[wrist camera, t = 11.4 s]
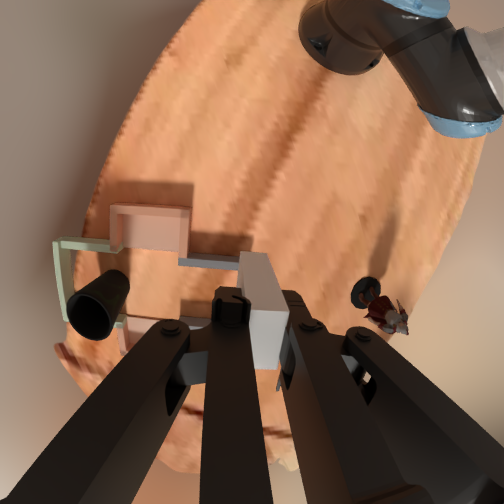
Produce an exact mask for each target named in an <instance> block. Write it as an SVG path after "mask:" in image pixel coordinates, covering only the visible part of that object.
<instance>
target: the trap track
mask: <svg viewBox="0 0 504 504" xmlns="http://www.w3.org/2000/svg"><path fill="white" fill-rule="evenodd" d="M191 214H192V207H183V206H169V205H154V204H137V203H114V204H111V205H110V240H107V239H95V238H83V237H71V236H63V237H61V238H59V239H57V240H55V241H53V253H54V264H55V272H56V279H57V287H58V293H59V298H60V304H61V310H62V315H63V319H64V321H66V322H69V319H68V317H67V313H66V305H67V302H68V300H69V298H70V297H71V296H72V295H74V294H75V291H74V284H73V276H72V266H71V255H70V249H76V250H86V251H96V252H106V253H116V254H117V253H118V252H119V251H121V250H122V249H123V247H125V248H137V249H148V250H159V251H171V252H179V257H178V266H189V267H201V268H213V269H225V270H238V268H239V259H240V257H237V256H225V255H213V254H201V253H189V244H190V228H191ZM179 320H180V321H182V322H185V323H186V324H187V325H188V326H189V328H190V330H193V329H200V328H203V327H205V326H207V325H209V324H210V322H211V319H208V318H196V317H185V316H180V318H179ZM157 321H161V320H157V319H148V318H140V317H133V316H127V314H120V313H119V315H118V317H117V319H116V322H115V324H114V326H113V327H114V328H117V335H118V341H119V347H120V353H121V355H122V356H125V355H126V354H127V353H128V352H129V351H130V349H131V348H132V347H133V346H134V345H135V344H136V343H137V342H138V341H139V339H140V338H141V337H142V336H143V335H144V334H145V333H146V332H147V331H148V330H149V328H150V327H151V326H152V325H153V324H155V323H156V322H157Z"/></svg>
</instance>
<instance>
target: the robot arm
mask: <svg viewBox="0 0 504 504" xmlns="http://www.w3.org/2000/svg"><path fill="white" fill-rule="evenodd" d="M449 10H450V3H449V0H325V1H322V2H321V3H319V4H317V5H314V6H312V7H311V8H309V9H308V10H307V11H306V12H305V14H304V15H303V17H302V19H301V21H300V23H299V37H300V40H301V43H302V45H303V46H304V48H305V50H306V51H307V52H308V53H309V55H310V56H311V57H312V58H313V59H314V60H316V61H317V62H318V63H319V64H321V65H322V66H324V67H326V68H327V69H329V70H331V71H334V72H337V73H340V74H344V75H359V74H363V73H365V72H367V71H369V70H371V69H372V68H374V67H375V66H376V65H377V64H378V63H379V61H380V60H381V58H382V56H383V54H384V53H385V55H386V56H387V57H388V59H389V60H390V62H391V63H392V65H393V66H394V67H395V69H396V70H397V72H398V73H399V75H400V76H401V78H402V79H403V81H404V82H405V84H406V85H407V87H408V89H409V90H410V92H411V93H412V95H413V97H414V98H415V100H416V102H417V106H418V107H419V109H420V110H421V111H422V112H423V113H424V115H425V116H426V118H427V120H428V121H429V123H430V125H431V126H432V128H433V129H434V130H435V131H437V132H439V133H440V134H442V135H444V136H447V137H451V138H474V137H479V136H483V135H485V134H486V132H489V133H491V132H493V131H495V130H497V129H498V128H499V127H500V126H501V123H502V115H503V114H504V27H503V28H500V29H497V30H494V31H491V32H487V33H480V32H478V31H476V30H474V29H472V28H469V27H464V28H461V29H459V30H456V29H455V28H454V27H453V25H452V23H451V22H450V21H449V20H448V18H447V17H446V16H447V14H448V12H449ZM279 359H280V363H281V371H280V375H279V379H278V383H277V387H276V391H279V389H280V386H281V388H282V392H283V397H284V401H285V405H286V410H287V414H288V419H289V423H290V428H291V432H292V437H293V441H294V446H295V450H296V455H297V459H298V464H299V468H300V473H301V477H302V482H303V486H304V490H305V495H306V499H307V504H504V448H503V447H502V446H501V445H500V444H499V443H498V442H497V441H496V440H495V439H494V438H493V437H492V436H491V435H489V433H487V432H486V431H485V430H484V429H483V428H482V427H481V426H480V425H479V424H478V423H477V422H476V421H474V420H473V419H472V418H471V417H470V416H469V415H468V414H467V413H466V412H465V411H464V410H462V409H461V408H460V407H459V406H458V405H457V404H456V403H455V402H453V400H451V399H450V398H449V397H448V396H447V395H446V394H445V393H444V392H443V391H441V390H440V389H439V388H438V387H437V386H436V385H434V384H433V383H432V382H431V381H430V380H429V379H428V378H427V377H425V376H424V375H423V374H422V373H421V372H420V371H419V370H418V369H417V368H415V367H414V366H413V365H412V364H411V363H410V362H409V361H407V360H406V359H405V358H404V357H403V356H402V355H401V354H399V353H398V352H397V351H396V350H395V349H394V348H392V347H391V346H390V345H389V344H388V343H387V342H386V341H384V340H383V339H382V338H381V337H380V336H379V335H377V334H376V333H375V332H373V331H372V330H370V329H367V328H366V327H360V326H359V327H351V328H349V329H348V330H347V332H346V335H345V336H341V335H336V334H331V333H329V332H328V330H327V328H326V326H325V325H324V324H323V323H322V322H320V321H319V320H316V319H313V318H312V317H311V315H310V313H309V311H308V309H307V307H306V305H305V303H304V301H303V299H302V297H301V295H299V294H298V293H297V292H295V291H292V290H281V288H280V286H279V283H278V281H277V278H276V275H275V273H274V270H273V268H272V265H271V263H270V260H269V258H268V255H267V253H259V252H248V251H240V259H239V268H238V278H237V288H236V287H223V286H220V287H219V288H218V289H216V290H215V296H214V299H213V300H212V315H211V322H210V324H209V325H207V326H205V327H203V328H200V329H193V330H190V328H189V326H188V325H187V324H186V323H185V322H182V321H180V320H175V319H164V320H161V321H157V322H156V323H155V324H153V325H152V326H151V327H150V328H149V330H148V331H147V332H146V333H145V334H144V335H143V336H142V337H141V338H140V339H139V341H138V342H137V343H136V344H135V345H134V346H133V347H132V348H131V349H130V351H129V352H128V353H127V354H126V355H125V356H124V357H123V358H122V360H121V361H120V362H119V363H118V364H117V365H116V366H115V367H114V369H113V370H112V371H111V372H110V373H109V374H108V375H107V376H106V378H105V379H104V380H103V381H102V382H101V383H100V384H99V386H98V387H97V388H96V389H95V390H94V391H93V393H92V394H91V395H90V396H89V397H88V398H87V399H86V401H85V402H84V403H83V404H82V405H81V407H80V408H79V409H78V410H77V411H76V412H75V413H74V415H73V416H72V417H71V418H70V419H69V421H68V422H67V423H66V424H65V425H64V427H63V428H62V429H61V430H60V431H59V432H58V434H57V435H56V436H55V437H54V439H53V440H52V441H51V442H50V443H49V445H48V446H47V447H46V448H45V449H44V451H43V452H42V453H41V454H40V456H39V457H38V458H37V459H36V460H35V462H34V463H33V464H32V466H31V467H30V468H29V469H28V470H27V472H26V473H25V474H24V475H23V477H22V478H21V479H20V481H19V482H18V483H17V484H16V486H15V487H14V488H13V490H12V491H11V492H10V493H9V495H8V496H7V497H6V498H4V499H2V500H0V504H131V503H132V501H133V499H134V497H135V496H136V494H137V492H138V490H139V488H140V486H141V484H142V482H143V480H144V478H145V476H146V474H147V472H148V471H149V469H150V467H151V465H152V463H153V461H154V459H155V457H156V455H157V453H158V451H159V449H160V447H161V445H162V443H163V441H164V440H165V438H166V436H167V434H168V432H169V430H170V428H171V426H172V424H173V422H174V420H175V418H176V416H177V414H178V412H179V410H180V408H181V406H182V404H183V402H184V400H185V398H186V396H187V394H188V393H189V391H190V388H191V385H195V384H201V383H206V385H205V399H204V413H203V429H202V447H201V468H200V498H199V500H200V501H199V504H273V497H272V490H271V484H270V477H269V470H268V463H267V456H266V449H265V442H264V435H263V428H262V420H261V413H260V406H259V398H258V391H257V383H256V376H255V369H277V368H278V364H279ZM366 371H367V372H368V373H369V374H370V375H371V378H370V380H369V382H368V383H367V382H365V381H364V380H363V378H364V376H365V373H366Z"/></svg>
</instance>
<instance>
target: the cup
mask: <svg viewBox="0 0 504 504" xmlns="http://www.w3.org/2000/svg"><path fill="white" fill-rule="evenodd" d="M129 290H130V284H129V281H128V279H127V277H126V276H125V275H124V274H123V273H122V272H120V271H118V270H108V271H107V272H105V273H104V274H102V275H101V276H99V277H98V278H96V279H95V280H93V281H92V282H91V283H89V284H88V285H86V286H85V287H83V288H82V289H81V290H79V291H78V292H76V293H75V294H74V295H72V296H71V297H70V298H69V300H68V302H67V305H66V313H67V317H68V319H69V322H70V323H71V325H72V327H73V328H74V329H75V330H76V331H77V332H78V333H79V334H80V335H82V336H83V337H85V338H87V339H90V340H95V341H99V340H103V339H105V338H107V337H108V336H109V335H110V333H111V331H112V329H113V326H114V324H115V322H116V319H117V317H118V315H119V313H120V310H121V308H122V306H123V304H124V302H125V299H126V297H127V295H128V293H129Z"/></svg>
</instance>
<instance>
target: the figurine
mask: <svg viewBox="0 0 504 504" xmlns="http://www.w3.org/2000/svg"><path fill="white" fill-rule="evenodd" d="M380 293H381V285H380V284H379V282H378V281H377V279H375V278H371V277H367V278H364V279H361V280H360V281H359V282H358V283H357V284H356V285H354V288H353V290H352V292H351V302H352V303H353V305H354V306H355V307H356V308H359V309H365V308H368V312H369V313H368V314H367V315H366V316H365V317H363V318H368V320H369V321H370V322H372V323H374V324H375V325H377V326H378V328H380V329H382V330H383V331H384V332H387V333H389V334H393V333H395V332H397V333H400V332H401V333H402V334H406V335H408V334H409V333H408V327H407V320H408V315H407V314H406V312H405V310H404V309H403V307H402V306H401V305H400V303H399V301H398V300H397V303H398V305H399V311H400V314H398V313H397V310H396V309H395V307H394V306H393V304H392V302H391V301H390V299H389V298H388V297H387V296H381V297H379V295H380ZM395 310H396V312H395Z"/></svg>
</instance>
